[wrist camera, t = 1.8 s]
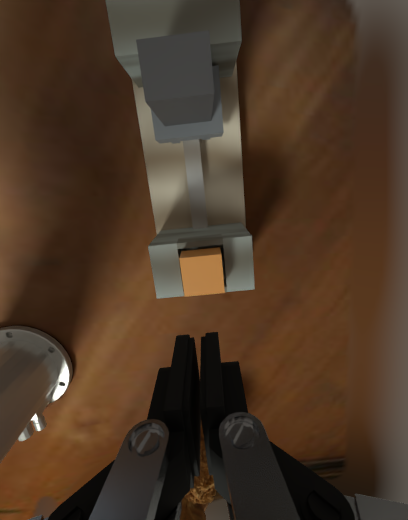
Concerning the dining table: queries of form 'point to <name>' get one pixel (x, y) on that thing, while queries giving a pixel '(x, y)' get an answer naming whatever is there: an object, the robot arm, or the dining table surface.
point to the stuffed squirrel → (199, 490)
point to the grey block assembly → (191, 145)
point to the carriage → (181, 87)
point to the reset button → (202, 271)
